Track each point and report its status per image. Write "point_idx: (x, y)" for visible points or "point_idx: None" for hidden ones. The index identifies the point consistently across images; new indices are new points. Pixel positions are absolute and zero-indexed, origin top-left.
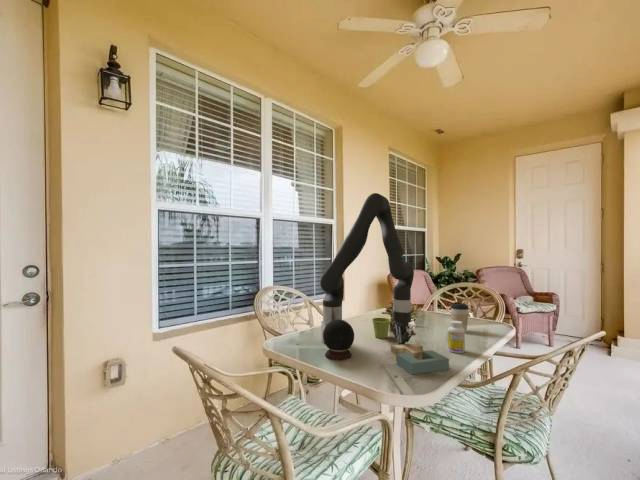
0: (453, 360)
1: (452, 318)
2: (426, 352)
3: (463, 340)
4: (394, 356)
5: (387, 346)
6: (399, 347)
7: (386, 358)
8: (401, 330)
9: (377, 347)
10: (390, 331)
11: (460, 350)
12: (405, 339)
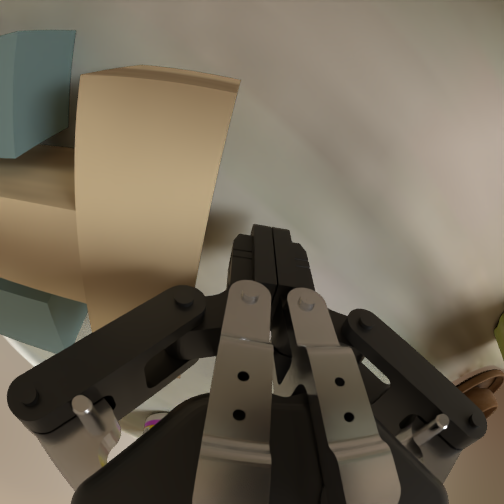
0: None
1: None
2: (25, 306)
3: None
4: (160, 69)
5: (448, 253)
6: (100, 151)
7: (250, 26)
8: (199, 456)
9: (486, 180)
10: (496, 369)
11: (144, 427)
12: (119, 327)
